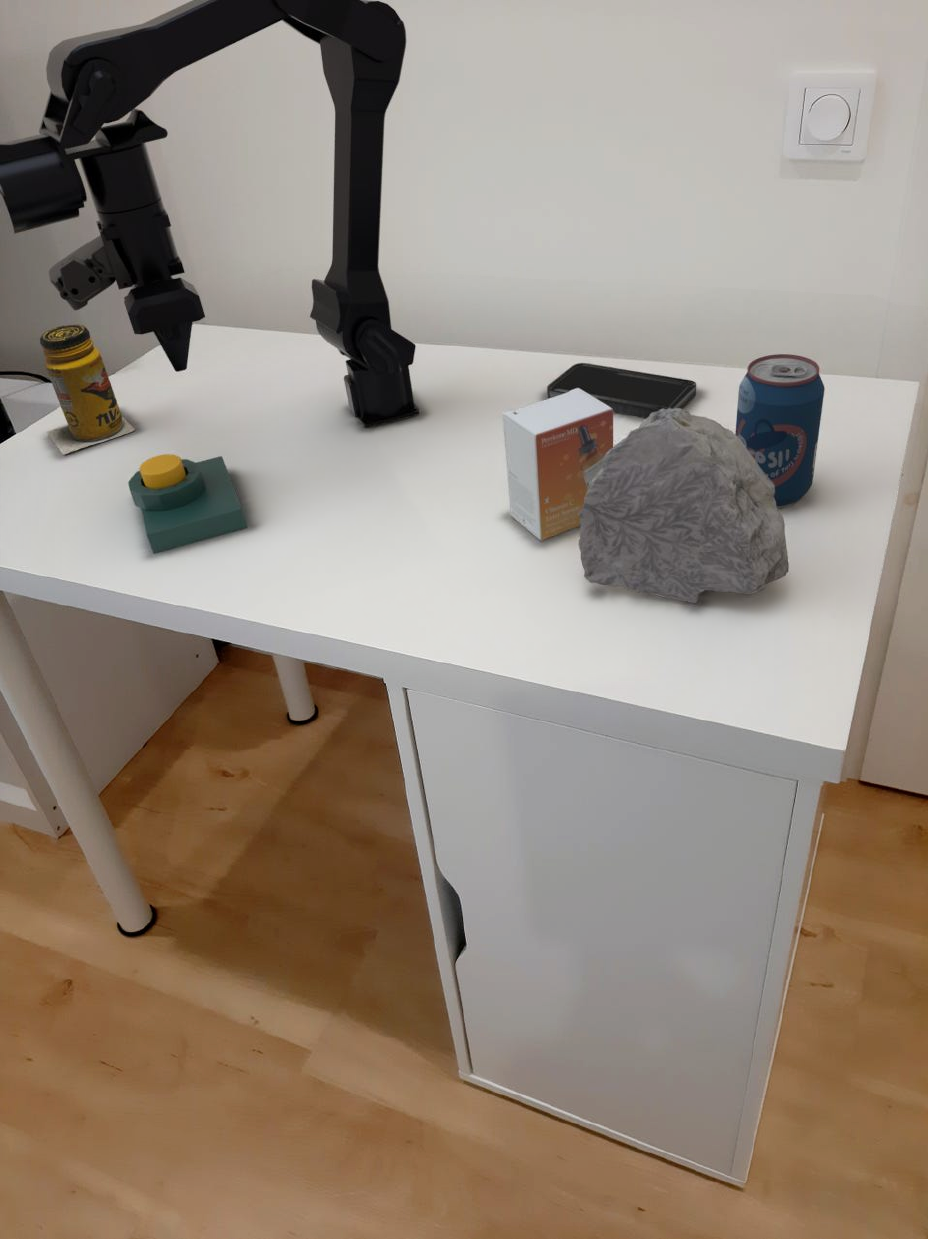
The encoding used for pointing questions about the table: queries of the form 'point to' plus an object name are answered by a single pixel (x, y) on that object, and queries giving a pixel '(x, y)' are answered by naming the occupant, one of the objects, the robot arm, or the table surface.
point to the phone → (625, 388)
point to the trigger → (162, 471)
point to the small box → (554, 459)
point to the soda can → (782, 421)
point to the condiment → (81, 389)
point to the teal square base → (189, 506)
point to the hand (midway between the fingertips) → (180, 369)
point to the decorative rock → (682, 513)
